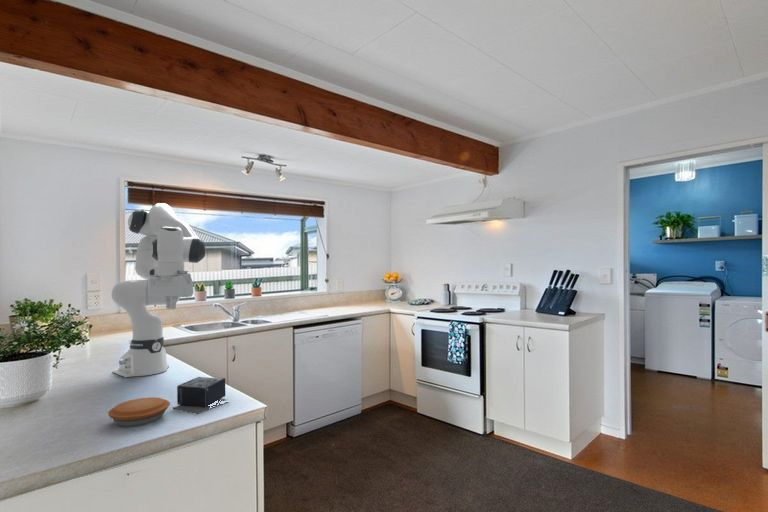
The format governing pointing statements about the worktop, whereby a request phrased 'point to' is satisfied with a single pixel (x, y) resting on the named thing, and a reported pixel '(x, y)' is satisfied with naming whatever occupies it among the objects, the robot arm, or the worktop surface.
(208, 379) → the small box
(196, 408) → the rubber mat
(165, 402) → the pie
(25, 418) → the worktop surface
